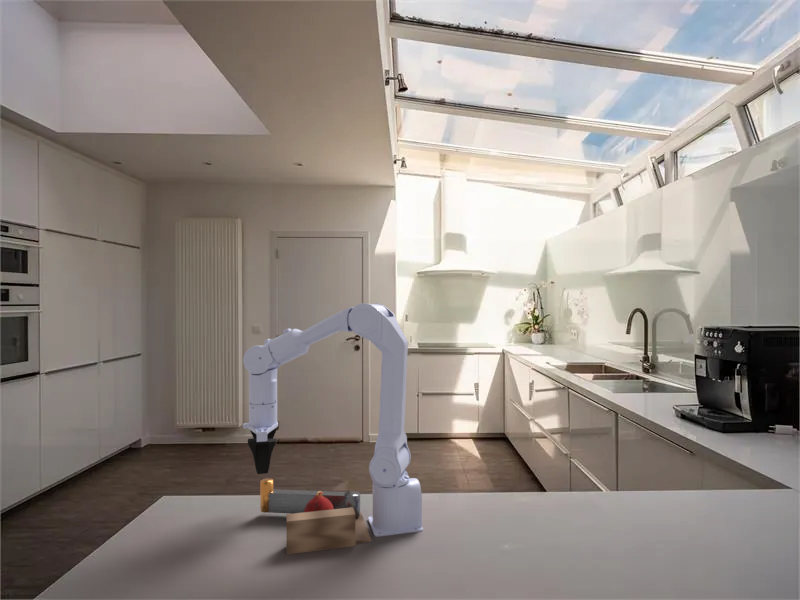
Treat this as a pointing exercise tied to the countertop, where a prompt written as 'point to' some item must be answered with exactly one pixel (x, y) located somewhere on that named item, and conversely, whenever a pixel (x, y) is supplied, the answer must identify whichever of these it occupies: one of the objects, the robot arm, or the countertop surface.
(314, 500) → the onion
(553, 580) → the countertop surface
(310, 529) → the bench
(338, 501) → the lever
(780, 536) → the countertop surface
